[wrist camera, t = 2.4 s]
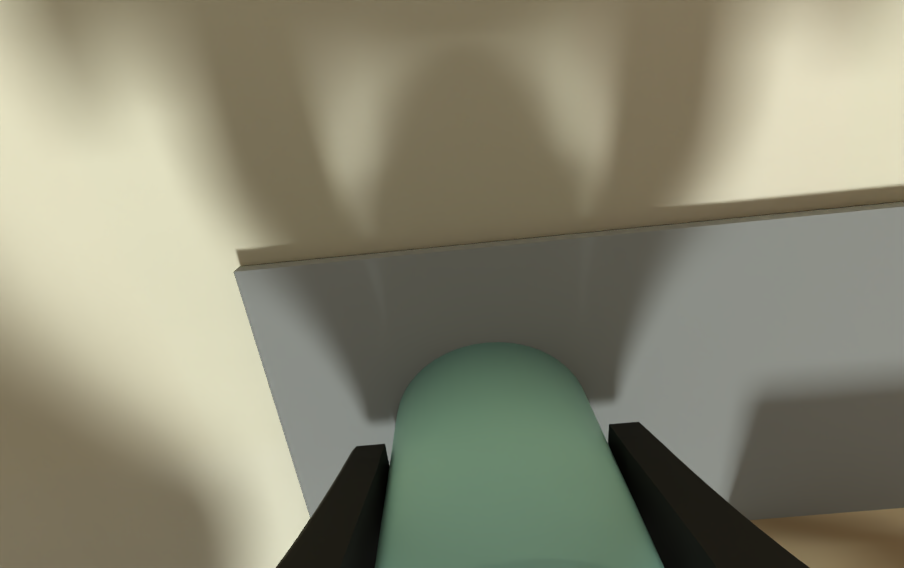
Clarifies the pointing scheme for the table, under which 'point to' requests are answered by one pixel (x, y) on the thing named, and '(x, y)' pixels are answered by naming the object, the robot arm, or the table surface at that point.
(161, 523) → the table surface
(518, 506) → the green rounded knob
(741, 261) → the slate mat
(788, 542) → the birch slab low
